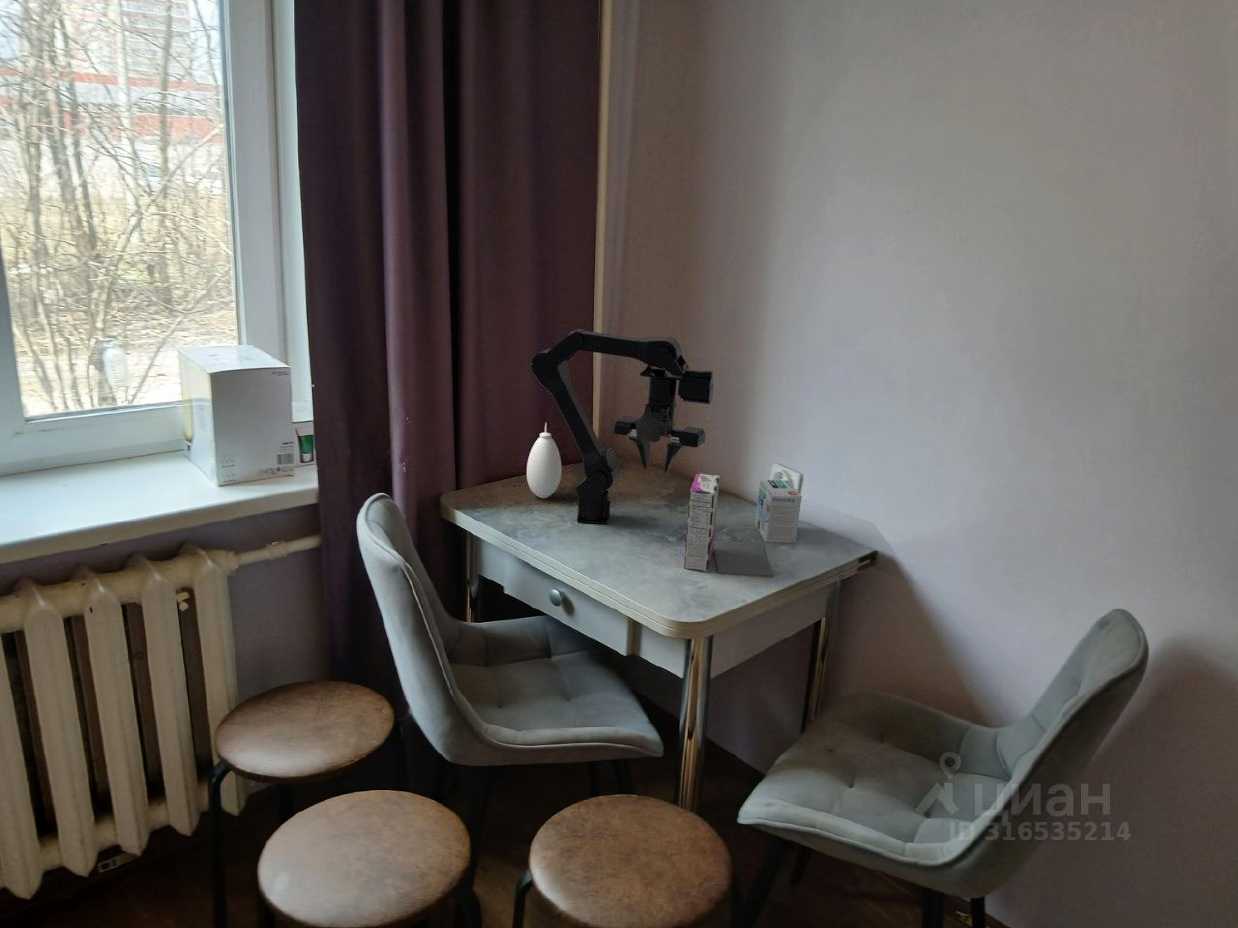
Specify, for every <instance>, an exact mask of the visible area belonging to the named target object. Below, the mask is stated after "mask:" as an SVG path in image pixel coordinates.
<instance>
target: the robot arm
mask: <svg viewBox="0 0 1238 928" xmlns="http://www.w3.org/2000/svg"><path fill="white" fill-rule="evenodd" d="M581 351H582V352H583V351H584V352H592V353H597V354H602V355H603V354H604V355H609V356H610V355H611V356H618V357H625V358H631V359H633V360H637V361H639V362H641V363H643V364H645V365H647V366H646V367H645V368H644V369H643V370H641V372H640V373H639V376H640V377H645V378H649V379H648V393H647V394H648V395H647V403H646V404H645V407H644V412H643V414H642V415H641V417H639V418H638V417H632V416H625V415H624V416H622V417H620V418H619V419H617V420H616V421H615V422H614V424H613V429H612V430H613V431H612V432H613V434H614V435H619V436H625V437H626V436H628V435H629V434H630V436H629V437H628V440H630V441H632V442H633V443H634V444H635V445H636V446H637V449H638V452H639V456H640V459H641V462H642V466H643V469H645V470H647V469H648V468H649V462H650V449H651V443H658V442H659V441H660V439H661V437H664V438H670V442H668V443H667V444H666V450H667V452H666V457H665V463H664V473H666V474H667V473H668V472H669V471H670V469H671V467H672V464H673V462H674V460H675V459H676V456H677V454H678V452H679V451H680V449H681V448H683V447H690V448H698V447H700V446H701V445H702V444H704V443H705V442H706V432H705V430H704V428H699V427H693V426H686V427H685V428H682V429H681V430H680V429H676V428H675V426H676V421H675V410H676V408H677V405H678V402H676V400H677V399H676V398H677V396H678V397H679V398H680V399H682V402H685V403H692V404H693V403H694V404H703V405H711V404H712V400H713V395H714V388H715V385H714V377H713V375H714V371H713V370H710V369H709V370H707V369H706V370H698V369H690V366H689V365H688V362H687V361H686V360H685V358H684V356H683V355H682V347H681V345H680V343H679V342H678V340H677V339H676V338H675V337H672V336H652V337H640V338H637V337H631V336H622V335H615V334H610V333H603V332H602V333H601V332H596V331H589V330H586V329H582V328H578V329H576V330H573V331H571V332H570V333H569V334H568V335H567V336H566V337H565V338H564V339H563V340H562V341H560V342H559V343H557V344H556V345H555V346H553V347H552V348H547V349H545V350H543V351H541V352H539V353H536V354H535V356H534V357H533V358H532V361H531V364H530V368H531V372H532V373H533V375H534V376H535V378H536V379H537V381H538V382H539V384H540V385H541V386H542V387H543V388H544V389H545V390H546V391H547V392H549V394H550V395H551V396H552V397H553V399H554V401H555V403H556V405H557V407H558V409H559V411H560V413H561V415H562V417H563V420H564V421H565V424H566V425H567V427H568V429H569V432H570V433H571V435H572V437H573V440H574V441H575V443H576V446H577V447H578V449H579V451H580V454H581V458H582V466H583V471H584V475H585V477H584V478H583V479H582V480H581V481H580V482H579V484H578V485H577V486H576V487H575V489H576V493H577V497H578V509H577V516H576V517H577V518H576V522H577V523H585V524H599V525H607V524H608V520H609V519H610V513H611V512H610V511H611V510H610V509H611V497H609V490H608V489H610V488H611V487H612V486H613V484H614V483H615V482H616V481H617V479H618V478H619V476H620V473H621V469H620V465H621V463H622V462H621V461H620V460H619V459H618V458H617V455H616V453H615V450H614V448H613V447H610V448H608V449H606V448H605V447H604V446H603V445H602V444H601V442H600V441H599V439H598V436H597V435H596V432H595V431H594V428H593V426H592V424H591V422H590V420H589V418H588V417H587V414H586V413H585V410H584V408H583V407H582V404H581V402H580V400H579V397H578V396H577V394H576V392H575V390H574V388H573V386H572V381H571V373H570V367H569V365H568V361H569V360H571V358H573V357H574V356H575V355H576V354H578V353H579V352H581ZM677 384H678V386H677ZM677 387H678V389H677Z"/></svg>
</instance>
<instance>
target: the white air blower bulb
mask: <svg viewBox="0 0 1238 928" xmlns="http://www.w3.org/2000/svg"><path fill="white" fill-rule="evenodd" d="M547 425H548V423H547V422H545V425H544V432H541V433H539V437H538V438H537V440H536V441H535V442H534V444H533V445H532V447H531V450H530V452H529V454H528V455H529V456H528V459H527V464H526V480H527V484H528V487H529V489H530V491H531V492H532V493H533V494H535V496H537V497H538V498H540V499H547V498H549V497H551V496H552V494H554V493H555V492H556V491H557V489H558V488H559V485H560V484H561V483H560V482H561V479H562V460H561V456H560V455H561V454H560V451H559V448H558V446H557V444H556V442H555V440H554V439H553V438H552V434H551V433H550V432H547V431H548V429H547V427H548V426H547Z"/></svg>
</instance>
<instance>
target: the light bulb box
mask: <svg viewBox="0 0 1238 928" xmlns="http://www.w3.org/2000/svg"><path fill="white" fill-rule="evenodd" d="M758 491H759V492H758V497H757V498H758V499H757V504H756V505H757V507H756V515H755V520H754V524H755V527H756V528H757V530H758V532H759V533H760V535H761V536H762V538H763V540H764V542H765V543H773V544H774V543H775V544H778V543H781V544H796V539H797V532H798V527H799V526H798V525H799V518H800V511H801V510H800V509H801V503H802V498H803V497H802V495H801V493H800V492H799V491H798V490H797V489H796V488H795V485H793V484H792V482H790V480H788V479H787V480H785V479H784V480H782V479H774V480H773V479H760V480H759V490H758Z"/></svg>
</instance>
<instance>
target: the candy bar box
mask: <svg viewBox="0 0 1238 928" xmlns="http://www.w3.org/2000/svg"><path fill="white" fill-rule="evenodd" d="M719 488H720V475H717V474H716V475H715V474H709V473H708V474H707V473H702V472H701V473H700V472H699V473H696V475H695V478H694V481H693V483H692V485H691V488H690V490H689V503H688V504H689V505H688V513H687V526H686V527H687V528H686V538H685V539H686V540H685V541H686V542H685V549H684V552H685V554H684V564H683V568H684V569H685V570H690V571H700V572H708V571H709V567H710V563H711V560H712V556H713V554H714V551H713V546H714V540H715V535H716V534H715V533H716V524H717V513H718V512H717V511H718V500H719V499H718V498H719V490H720V489H719Z"/></svg>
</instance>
